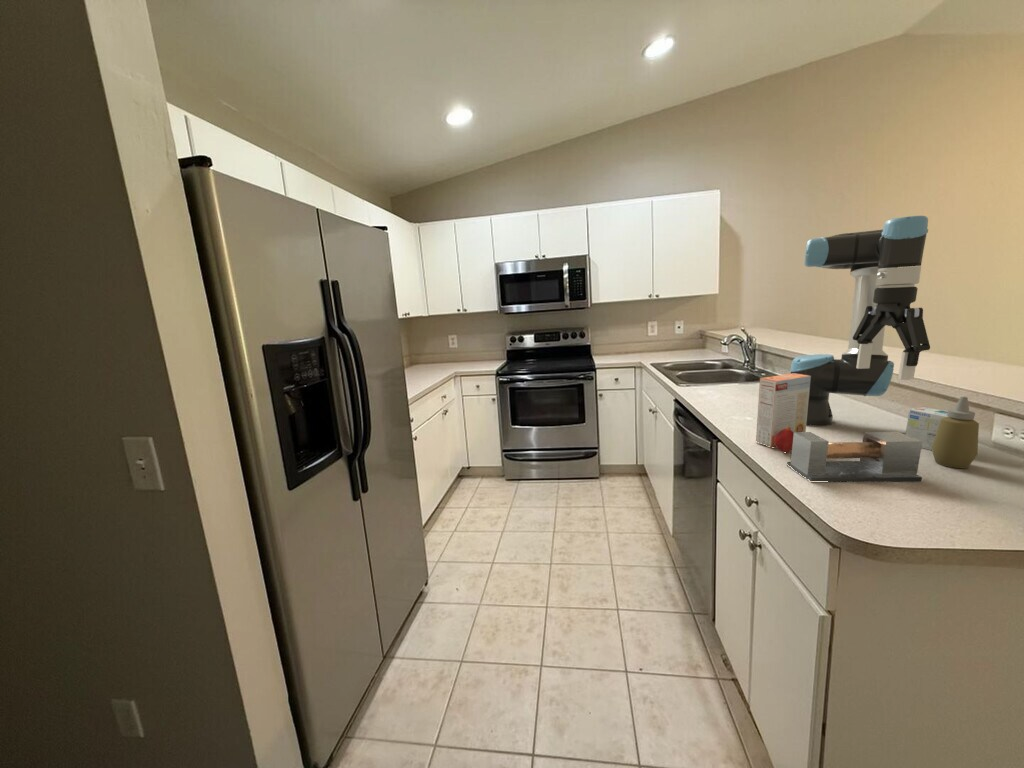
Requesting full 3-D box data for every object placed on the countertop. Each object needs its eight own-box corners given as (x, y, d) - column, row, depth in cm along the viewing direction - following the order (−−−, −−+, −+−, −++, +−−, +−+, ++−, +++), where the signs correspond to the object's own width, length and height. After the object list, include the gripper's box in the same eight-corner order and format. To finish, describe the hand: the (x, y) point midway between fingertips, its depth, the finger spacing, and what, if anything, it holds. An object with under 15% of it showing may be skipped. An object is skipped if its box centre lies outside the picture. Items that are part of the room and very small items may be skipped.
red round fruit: (775, 455, 115) (778, 429, 113) (770, 448, 120) (773, 423, 119) (800, 457, 113) (802, 430, 111) (793, 450, 118) (796, 424, 117)
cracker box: (787, 436, 130) (793, 372, 126) (805, 442, 124) (812, 375, 120) (753, 442, 126) (759, 376, 121) (771, 449, 120) (777, 380, 116)
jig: (786, 465, 108) (790, 430, 106) (886, 464, 106) (892, 428, 104) (810, 482, 99) (815, 443, 96) (921, 481, 96) (928, 442, 94)
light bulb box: (965, 452, 112) (973, 414, 110) (949, 455, 110) (956, 417, 108) (918, 440, 122) (923, 405, 120) (902, 443, 120) (908, 408, 118)
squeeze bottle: (965, 473, 100) (979, 402, 96) (922, 462, 107) (934, 396, 103) (981, 466, 103) (995, 398, 99) (938, 456, 110) (949, 392, 106)
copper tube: (798, 455, 105) (800, 439, 104) (873, 454, 103) (875, 438, 102) (809, 462, 100) (811, 445, 99) (887, 461, 99) (889, 444, 98)
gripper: (842, 287, 109) (833, 364, 113) (924, 286, 84) (908, 385, 89) (873, 285, 108) (862, 363, 112) (965, 284, 84) (946, 384, 88)
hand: (882, 373), depth 101 cm, fingers open, 13 cm apart
